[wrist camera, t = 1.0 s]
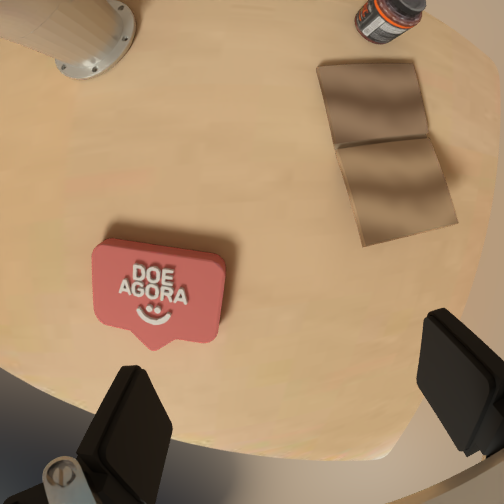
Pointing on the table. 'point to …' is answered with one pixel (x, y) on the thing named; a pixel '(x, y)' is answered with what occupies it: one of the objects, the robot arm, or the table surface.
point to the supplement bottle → (388, 18)
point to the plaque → (158, 291)
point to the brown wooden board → (372, 103)
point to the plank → (396, 189)
